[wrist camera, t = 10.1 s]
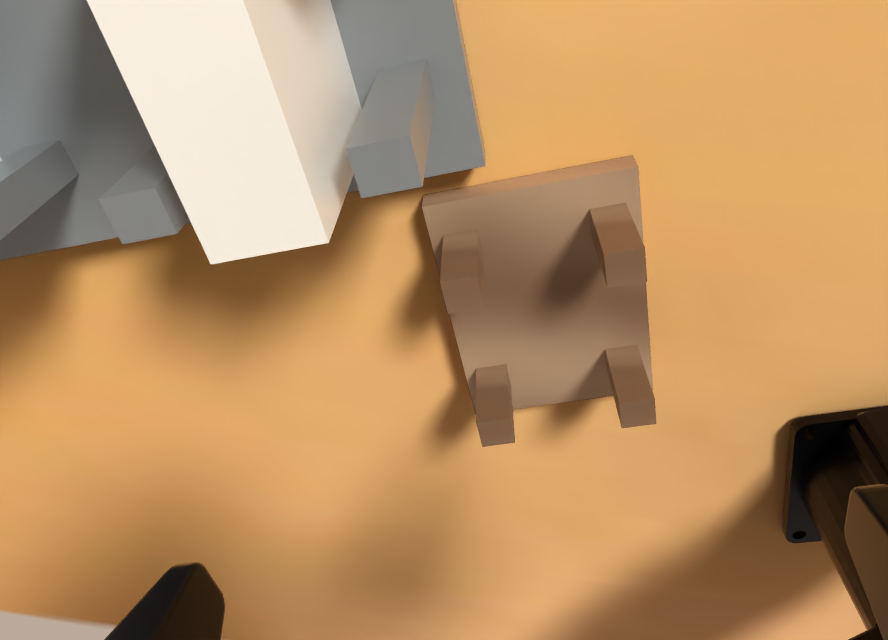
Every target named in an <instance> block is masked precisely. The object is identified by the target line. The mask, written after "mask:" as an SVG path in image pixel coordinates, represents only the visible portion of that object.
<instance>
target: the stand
mask: <svg viewBox="0 0 888 640" xmlns="http://www.w3.org/2000/svg"><path fill="white" fill-rule="evenodd" d="M422 210H423V213H424V217H425V221H426V225H427V229H428V233H429V237H430V240H431V244H432V248H433V252H434V256H435V260H436V264H437V267H438V271H439V275H440V285H441V289H442V293H443V297H444V301H445V305H446V308H447V312H448V314H450V318H451V321H452V325H453V329H454V333H455V337H456V341H457V345H458V348H459V352H460V356H461V360H462V364H463V368H464V372H465V375H466V379H467V383H468V387H469V391H470V395H471V399H472V402H473V406H474V410H475V414H476V423H477V427H478V431H479V435H480V439H481V443H482V446H483V447H485V446H492V445H500V444H507V443H515V435H514V421H513V409H520V408H527V407H535V406H542V405H549V404H556V403H563V402H570V401H577V400H585V399H592V398H599V397H606V396H614V399H615V403H616V407H617V411H618V415H619V419H620V423H621V427H622V428H628V427H635V426H643V425H650V424H656V412H655V398H654V395H653V392H652V390H653V384H652V369H651V354H650V338H649V323H648V308H647V293H646V282H647V273H646V257H645V247H644V244H643V232H642V217H641V202H640V186H639V171H638V165H637V163H636V161H635V159H634V157H633V155H632V156H627V157H621V158H616V159H611V160H606V161H600V162H595V163H590V164H585V165H579V166H574V167H569V168H564V169H558V170H553V171H548V172H543V173H537V174H532V175H527V176H522V177H516V178H511V179H506V180H501V181H495V182H490V183H485V184H480V185H474V186H469V187H464V188H459V189H453V190H448V191H443V192H438V193H433V194H427V195H423V202H422Z"/></svg>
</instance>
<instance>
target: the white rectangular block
mask: <svg viewBox="0 0 888 640" xmlns="http://www.w3.org/2000/svg"><path fill="white" fill-rule="evenodd" d="M87 2H88V4H89V6H90V8H91V11H92V13H93V15H94V17H95V19H96V21H97V23H98V26H99V28H100V30H101V32H102V34H103V36H104V38H105V40H106V43H107V45H108V47H109V49H110V51H111V53H112V55H113V57H114V60H115V62H116V64H117V66H118V68H119V70H120V72H121V74H122V77H123V79H124V81H125V83H126V85H127V87H128V89H129V92H130V94H131V96H132V98H133V100H134V102H135V104H136V106H137V109H138V111H139V113H140V115H141V117H142V119H143V121H144V123H145V126H146V128H147V130H148V132H149V134H150V136H151V138H152V140H153V143H154V145H155V147H156V149H157V151H158V153H159V155H160V158H161V160H162V162H163V164H164V166H165V168H166V170H167V172H168V175H169V177H170V179H171V181H172V183H173V185H174V187H175V189H176V192H177V194H178V196H179V198H180V200H181V202H182V204H183V206H184V209H185V211H186V213H187V215H188V217H189V219H190V221H191V224H192V226H193V228H194V230H195V232H196V234H197V236H198V238H199V241H200V243H201V245H202V247H203V249H204V251H205V253H206V255H207V258H208V260H209V262H210V264H217V263H222V262H227V261H233V260H238V259H244V258H249V257H255V256H260V255H265V254H271V253H276V252H282V251H287V250H293V249H298V248H303V247H309V246H314V245H320V244H325V243H329V241H330V238H331V236H332V233H333V230H334V227H335V224H336V222H337V219H338V216H339V213H340V211H341V208H342V205H343V202H344V199H345V197H346V194H347V191H348V188H349V186H350V183H351V180H352V177H353V175H354V173H353V170H352V167H351V164H350V160H349V157H348V154H347V151H346V147H347V145H348V142H349V140H350V137H351V135H352V133H353V130H354V128H355V125H356V123H357V121H358V118H359V116H360V113H361V111H362V108H361V105H360V102H359V98H358V95H357V91H356V88H355V84H354V81H353V77H352V74H351V70H350V67H349V63H348V60H347V56H346V53H345V49H344V46H343V42H342V39H341V35H340V32H339V28H338V25H337V22H336V18H335V15H334V11H333V8H332V4H331V1H330V0H87Z"/></svg>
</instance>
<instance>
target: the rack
mask: <svg viewBox="0 0 888 640" xmlns="http://www.w3.org/2000/svg"><path fill="white" fill-rule="evenodd" d="M330 1H331V4H332V8H333V11H334V15H335V18H336V22H337V25H338V28H339V32H340V35H341V39H342V42H343V46H344V49H345V53H346V56H347V60H348V63H349V67H350V70H351V74H352V77H353V81H354V84H355V88H356V91H357V95H358V98H359V102H360V105H361V108H362V111H361V113H360V116H359V118H358V121H357V123H356V125H355V128H354V130H353V133H352V135H351V137H350V140H349V142H348V145H347V147H346V151H347V154H348V157H349V160H350V164H351V167H352V170H353V173H354V175H353V177H352V180H351V183H350V186H349V188H348V191H347V193H349V192H354V191H359V193H360V196H361V198H366V197H371V196H377V195H382V194H387V193H392V192H397V191H402V190H408V189H413V188H418V187H423V181H424V178H426V177H431V176H437V175H442V174H447V173H452V172H457V171H462V170H467V169H473V168H478V167H483V166H485V148H484V143H483V138H482V133H481V128H480V123H479V117H478V112H477V107H476V102H475V97H474V92H473V87H472V81H471V76H470V71H469V66H468V61H467V56H466V50H465V45H464V40H463V35H462V30H461V25H460V20H459V14H458V9H457V4H456V0H330ZM0 157H1V159H2V161H0V260H5V259H10V258H15V257H20V256H25V255H31V254H36V253H41V252H46V251H51V250H56V249H61V248H66V247H72V246H77V245H82V244H87V243H92V242H97V241H102V240H108V239H113V238H118V237H119V239H120V241H121V243H122V244H127V243H133V242H138V241H143V240H148V239H153V238H159V237H164V236H169V235H174V234H178V232H179V231H180V230H181V228H182V227H183V226H184V225H185V224H190V223H191V221H190V219H189V217H188V215H187V213H186V211H185V209H184V206H183V204H182V202H181V200H180V198H179V196H178V194H177V192H176V189H175V187H174V185H173V183H172V181H171V179H170V177H169V175H168V172H167V170H166V168H165V166H164V164H163V162H162V160H161V158H160V155H159V153H158V151H157V149H156V147H155V145H154V143H153V140H152V138H151V136H150V134H149V132H148V130H147V128H146V126H145V123H144V121H143V119H142V117H141V115H140V113H139V111H138V109H137V106H136V104H135V102H134V100H133V98H132V96H131V94H130V92H129V89H128V87H127V85H126V83H125V81H124V79H123V77H122V74H121V72H120V70H119V68H118V66H117V64H116V62H115V60H114V57H113V55H112V53H111V51H110V49H109V47H108V45H107V43H106V40H105V38H104V36H103V34H102V32H101V30H100V28H99V26H98V23H97V21H96V19H95V17H94V15H93V13H92V11H91V8H90V6H89V4H88V2H87V0H0Z"/></svg>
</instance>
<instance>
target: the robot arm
mask: <svg viewBox="0 0 888 640" xmlns="http://www.w3.org/2000/svg"><path fill="white" fill-rule="evenodd" d="M806 430H809V431H806ZM805 431H806V432H805ZM782 530H783V533H784V535H785V537H786V539H787V540H788V541H789V542H792V543H804V542H813V541H823V543H824V545H825V547H826V549H827V551H828V553H829V555H830V557H831V559H832V561H833V563H834V565H835V567H836V569H837V571H838V573H839V575H840V577H841V579H842V581H843V583H844V585H845V587H846V589H847V591H848V593H849V595H850V597H851V599H852V601H853V603H854V605H855V607H856V609H857V611H858V613H859V615H860V617H861V619H862V621H863V623H864V625H865V627H866V629H867V631H865V632H863V633H861V634H859V635H857V636H855V637H853V638H851V639H849V640H888V406H883V407H875V408H867V409H859V410H852V411H844V412H836V413H829V414H821V415H813V416H806V417H802V418H799V419H798V420H796V421H795V422H794V423H793V424H792V425H791V428H790V438H789V451H788V463H787V475H786V487H785V499H784V511H783V523H782ZM224 611H225V602H224V597H223V594H222V592H221V591H220V589H219V588H218V586H217V584H216V583H215V581H214V580H213V578H212V577H211V575H210V574H209V572H208V571H207V569H206V568H205V567H204V565H202V564H200V563H197V562H195V563H186V564H178V565H175V566H173V567H171V568H170V569H169V570H168V571H167V572H166V573H165V574H164V575H163V576H162V577H161V578H160V579H159V580H158V582H157V583H156V584H155V585H154V586H153V587H152V588H151V589H150V590H149V591H148V592H147V594H146V595H145V596H144V597H143V598H142V599H141V600H140V601H139V602H138V603H137V604H136V606H135V607H134V608H133V609H132V610H131V611H130V612H129V613H128V614H127V615H126V617H125V618H124V619H123V620H122V621H121V622H120V623H119V624H118V625H117V626H116V627H115V629H114V630H113V631H112V632H111V633H110V634H109V635H108V636H107V637H106V639H105V640H221V634H222V626H223V619H224Z"/></svg>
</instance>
